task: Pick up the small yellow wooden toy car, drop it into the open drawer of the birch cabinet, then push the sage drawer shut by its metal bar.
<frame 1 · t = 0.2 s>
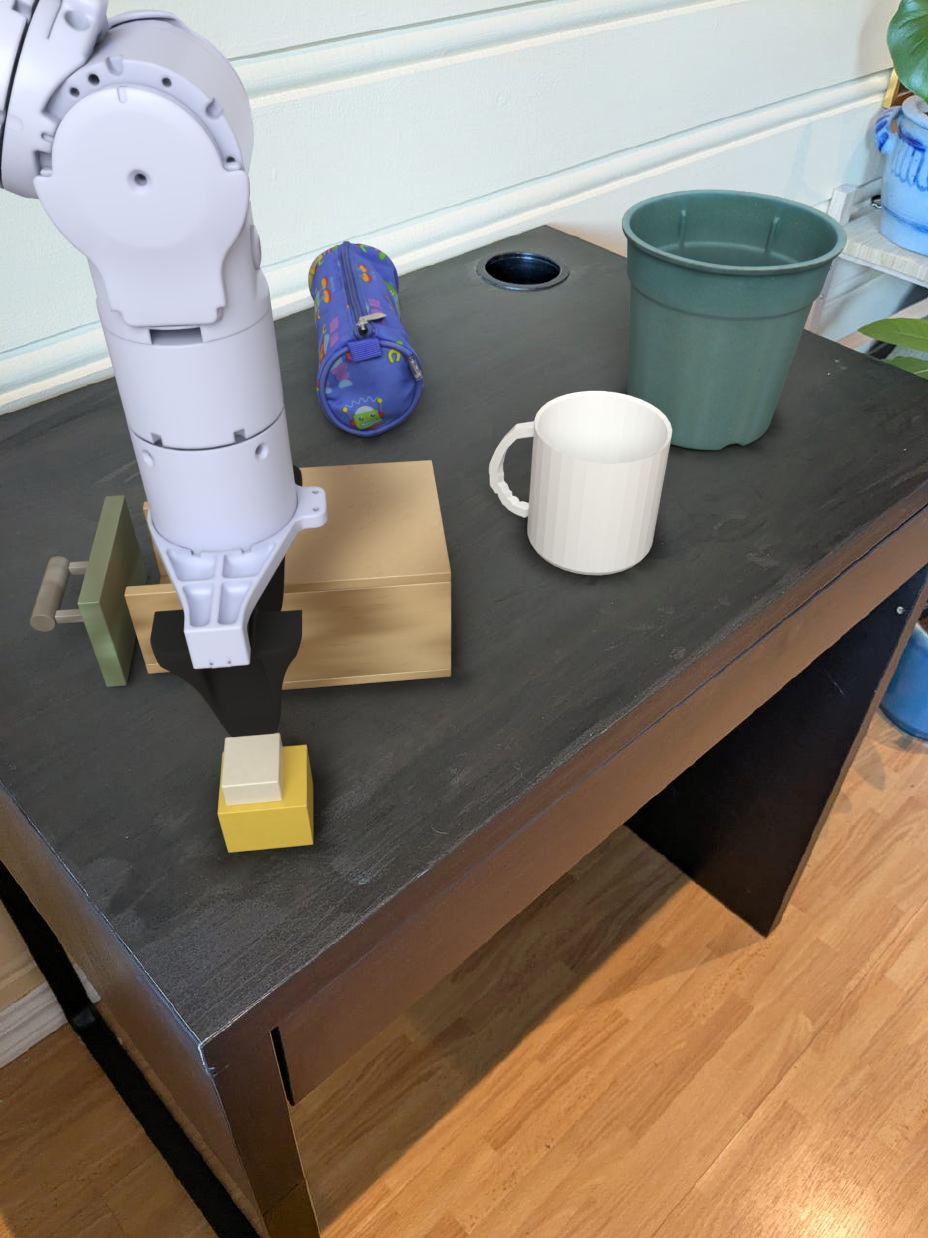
hand: (257, 667, 45), 11 cm above the table, tool pointing down, fingers open, 7 cm apart
mug: (570, 533, 70), on the table
cabinet: (339, 622, 63), on the table
flower pot: (695, 416, 83), on the table
pencil case: (364, 381, 87), on the table
toy: (272, 817, 51), on the table
drawer: (176, 584, 59), point 4 cm above the table, slide at 6.0 cm
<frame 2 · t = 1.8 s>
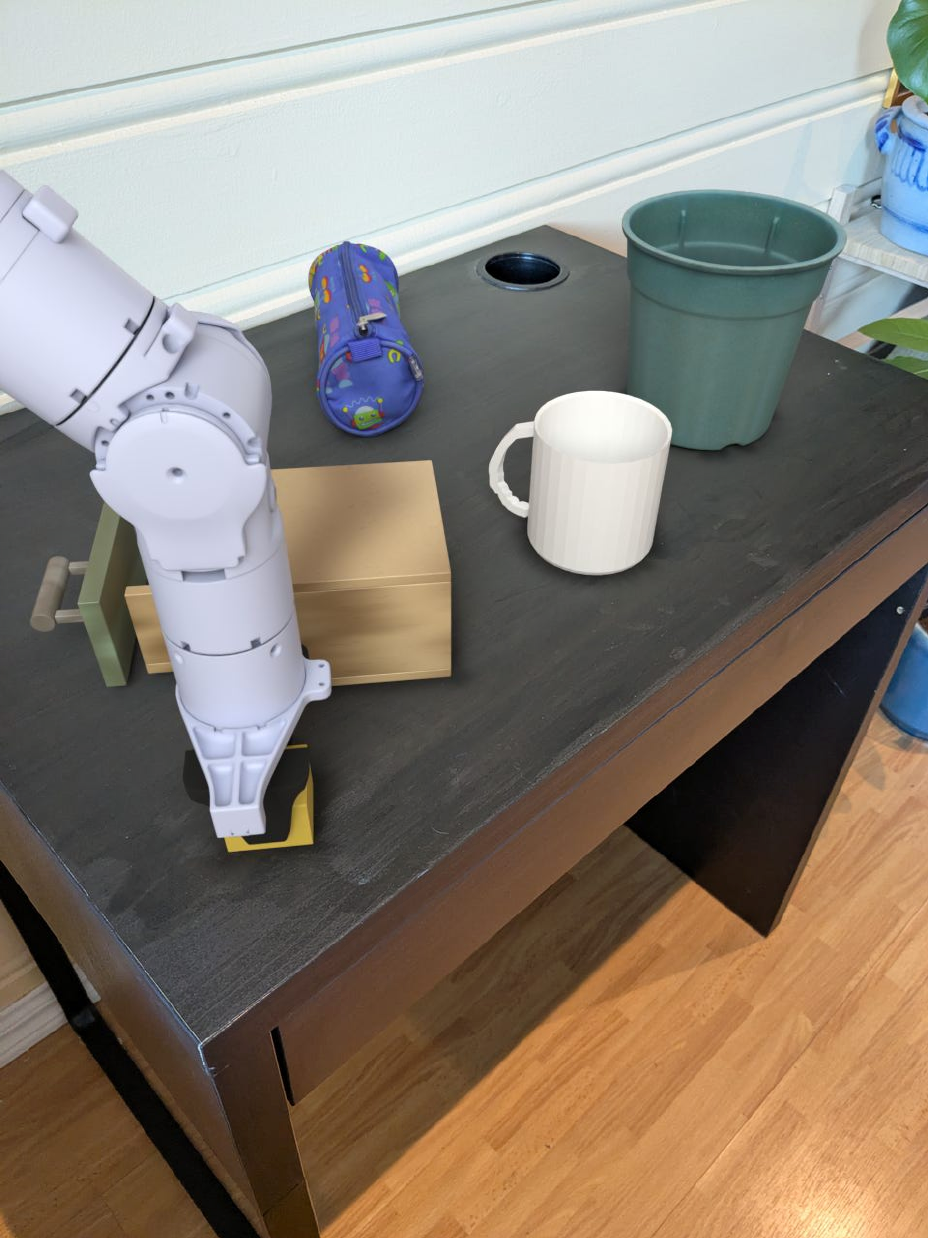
hand: (268, 801, 51), 1 cm above the table, tool pointing down, fingers closed on toy, 4 cm apart
toy: (272, 817, 51), on the table, touching gripper
everything else where it was.
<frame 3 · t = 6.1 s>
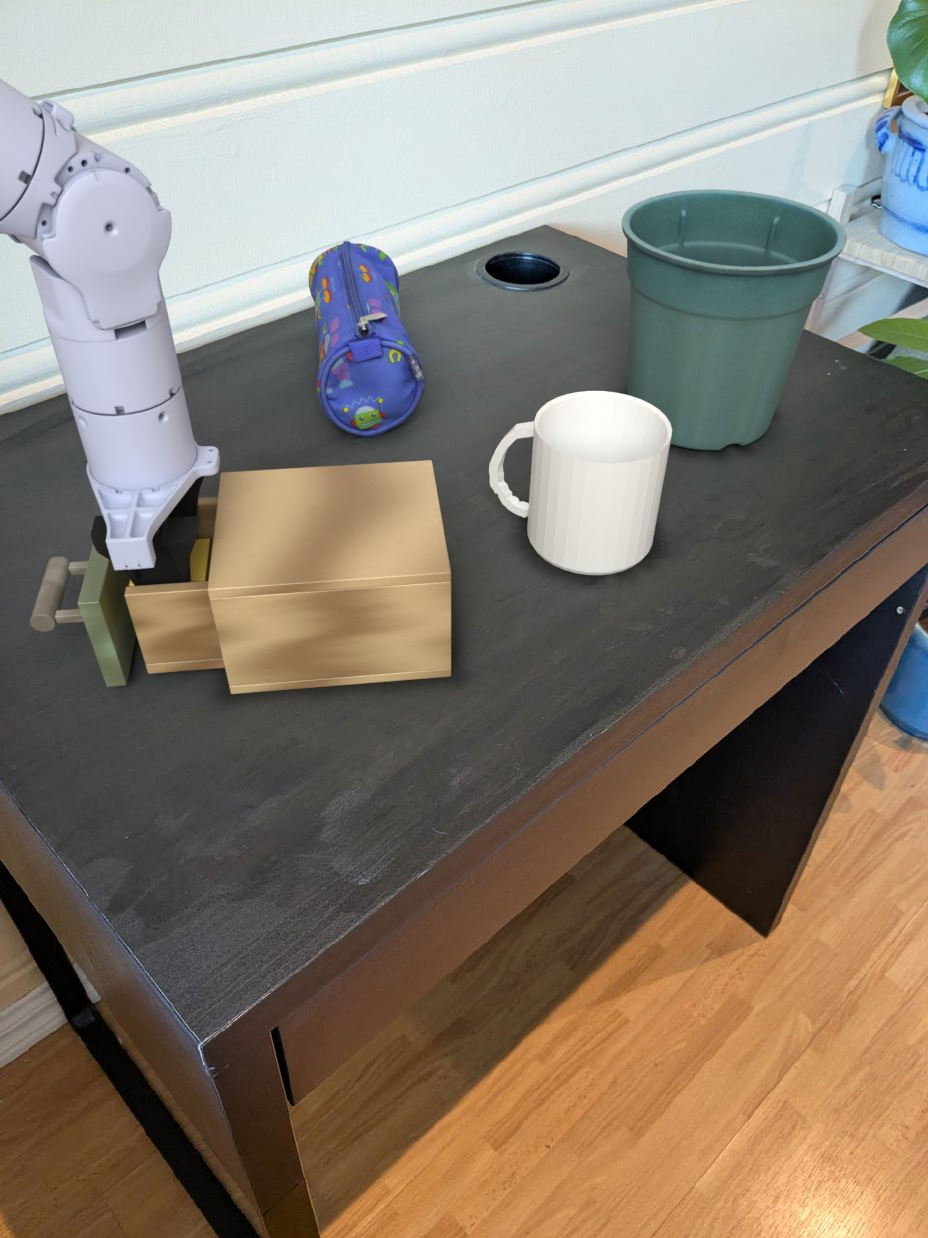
hand: (176, 586, 59), 4 cm above the table, tool pointing down, fingers closed on toy, 4 cm apart
toy: (181, 602, 60), point 3 cm above the table, touching gripper
everything else where it was.
when the fingers open (6 cm above the table, at t = 12.0 s): toy stays where it is, resting on drawer.
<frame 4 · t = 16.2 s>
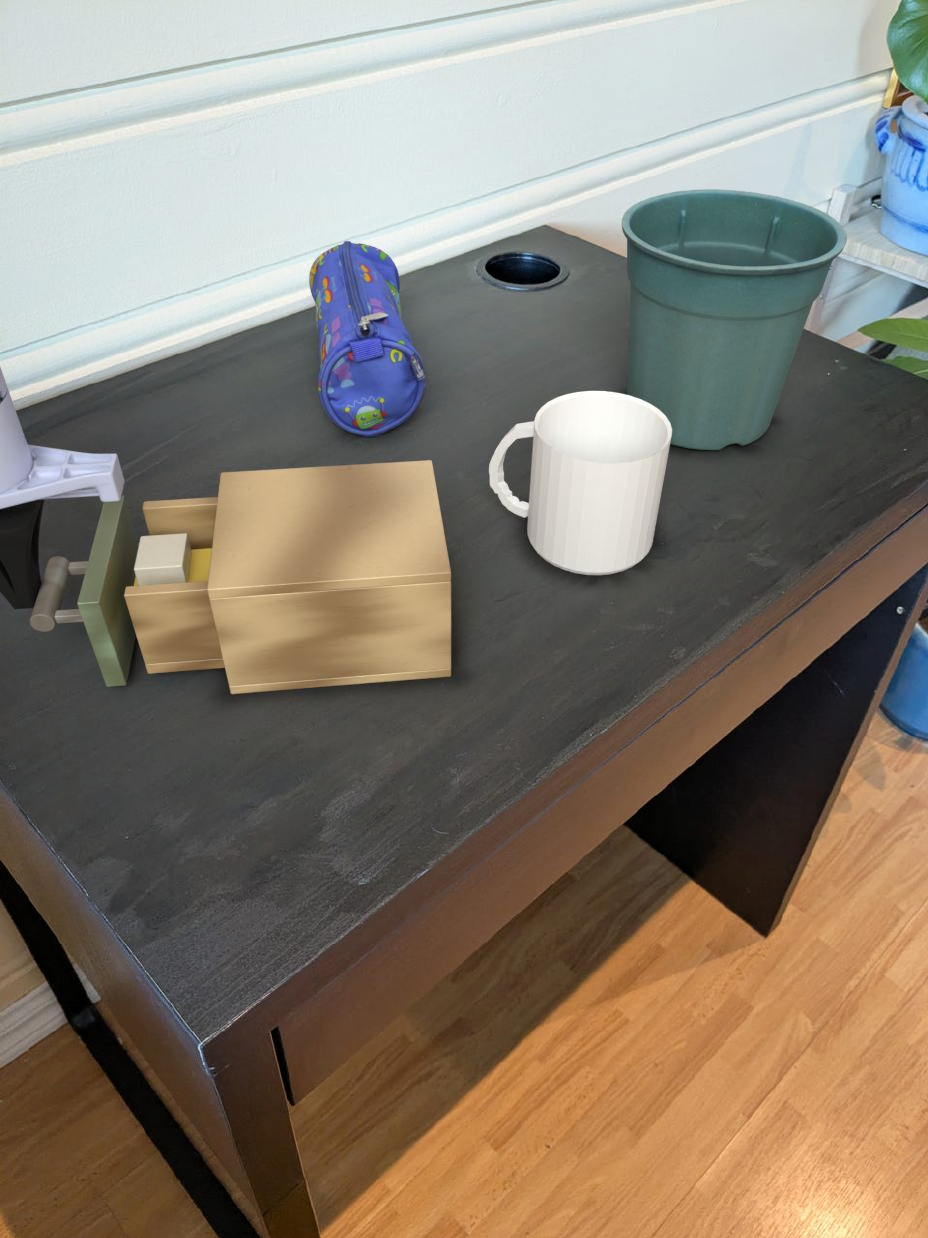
hand: (28, 597, 58), 4 cm above the table, tool pointing down, fingers closed
toy: (183, 612, 61), point 2 cm above the table, touching drawer
drawer: (176, 584, 59), point 4 cm above the table, slide at 6.0 cm, touching gripper, toy
everything else where it was.
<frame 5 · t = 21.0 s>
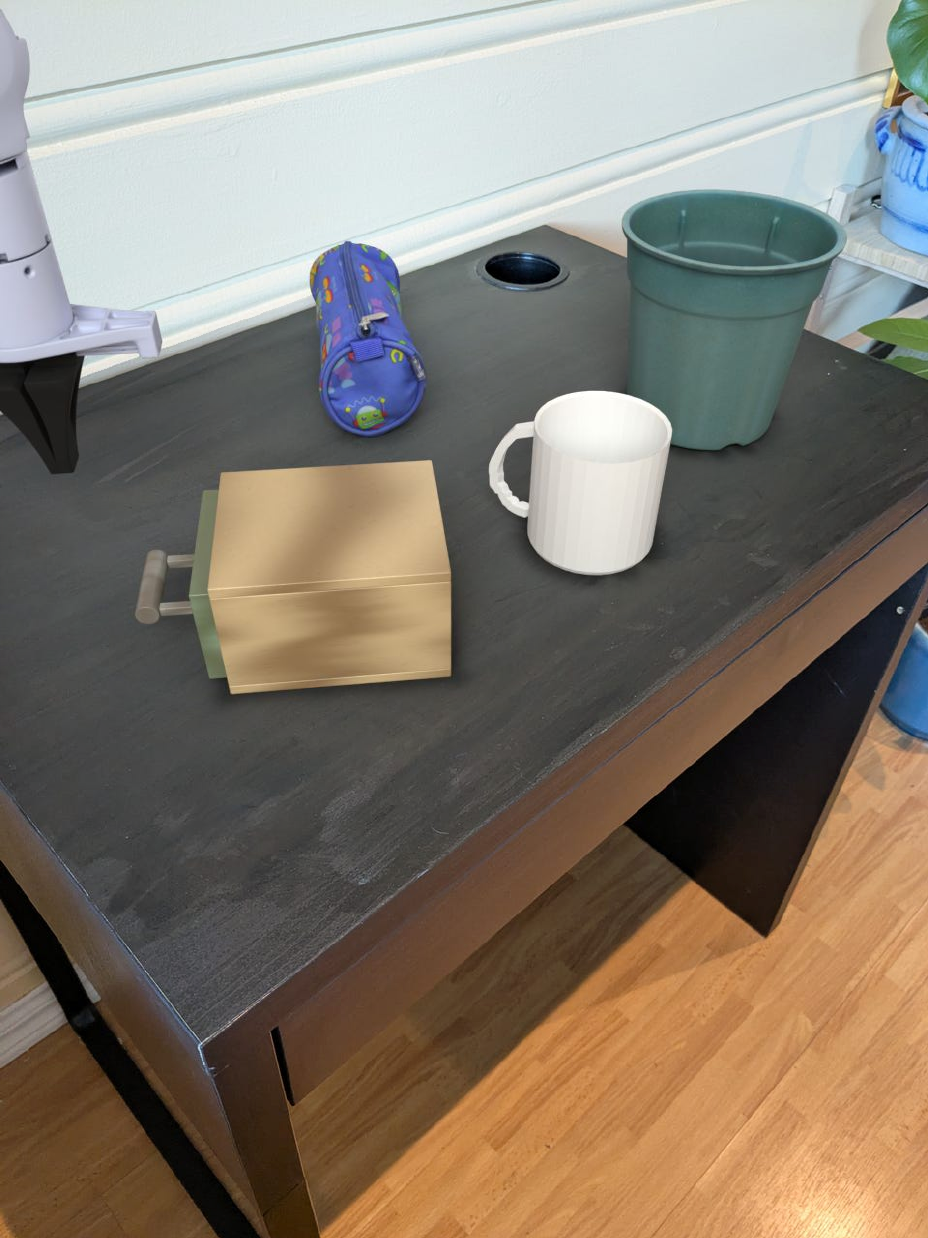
hand: (65, 464, 59), 9 cm above the table, tool pointing down, fingers closed
toy: (280, 605, 61), point 2 cm above the table, touching drawer
drawer: (275, 577, 60), point 4 cm above the table, slide at 0.0 cm, touching toy
everything else where it was.
at the end: toy inside the target area in the cabinet (3.6 cm from its centre), point 1.9 cm above the cabinet's base; drawer slide at 0.0 cm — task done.
